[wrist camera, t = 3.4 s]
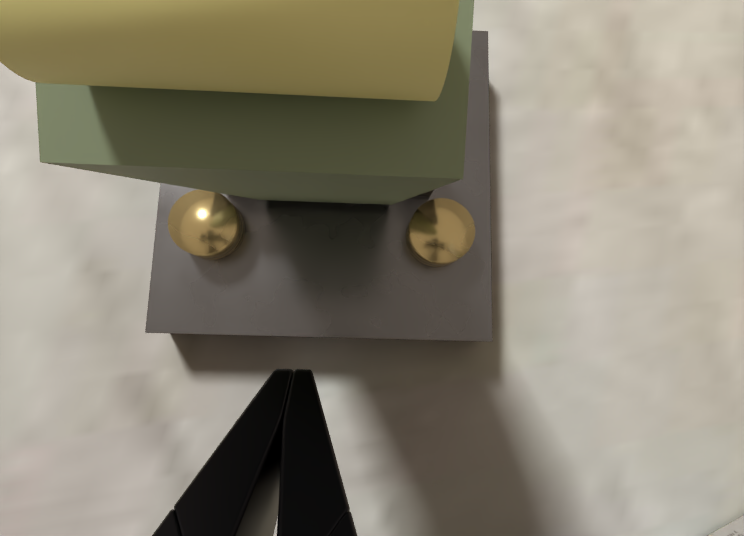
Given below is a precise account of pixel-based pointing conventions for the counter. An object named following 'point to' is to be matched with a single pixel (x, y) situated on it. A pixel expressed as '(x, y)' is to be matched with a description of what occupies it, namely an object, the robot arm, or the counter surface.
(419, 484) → the counter surface
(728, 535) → the coffee box
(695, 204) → the counter surface
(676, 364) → the counter surface
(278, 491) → the robot arm
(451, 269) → the base
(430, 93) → the green lever
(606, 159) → the counter surface
